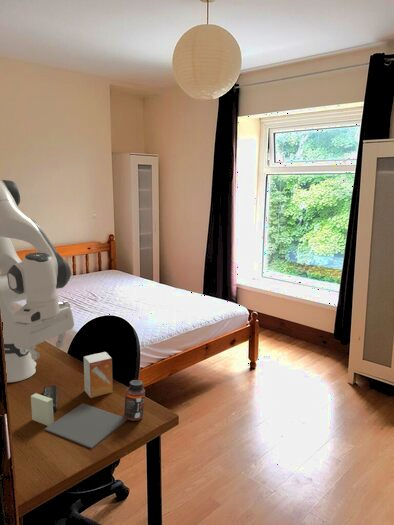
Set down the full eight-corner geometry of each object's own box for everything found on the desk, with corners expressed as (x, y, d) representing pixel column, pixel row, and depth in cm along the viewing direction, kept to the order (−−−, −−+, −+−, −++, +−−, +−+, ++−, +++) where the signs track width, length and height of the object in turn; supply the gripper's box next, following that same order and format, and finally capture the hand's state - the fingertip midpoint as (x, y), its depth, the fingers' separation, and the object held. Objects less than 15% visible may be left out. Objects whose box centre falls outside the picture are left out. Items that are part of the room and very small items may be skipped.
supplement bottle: (142, 422, 126) (145, 387, 125) (123, 421, 126) (125, 386, 124) (143, 412, 132) (146, 378, 131) (124, 411, 132) (127, 377, 130)
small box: (90, 399, 139) (89, 363, 137) (84, 390, 145) (82, 356, 142) (113, 392, 144) (112, 357, 141) (106, 384, 149) (105, 351, 146)
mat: (44, 430, 122) (44, 428, 122) (82, 404, 136) (82, 403, 136) (91, 449, 114) (91, 447, 114) (127, 419, 128) (127, 418, 128)
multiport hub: (57, 391, 145) (57, 384, 144) (56, 413, 131) (56, 406, 131) (43, 392, 144) (43, 386, 143) (42, 415, 130) (41, 408, 130)
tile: (32, 419, 127) (30, 396, 125) (37, 416, 129) (35, 393, 127) (48, 426, 124) (47, 402, 122) (53, 422, 126) (52, 398, 124)
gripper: (61, 298, 132) (65, 339, 134) (6, 317, 114) (12, 364, 116) (76, 300, 129) (80, 342, 131) (23, 319, 111) (28, 368, 114)
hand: (48, 352), depth 124 cm, fingers open, 8 cm apart
